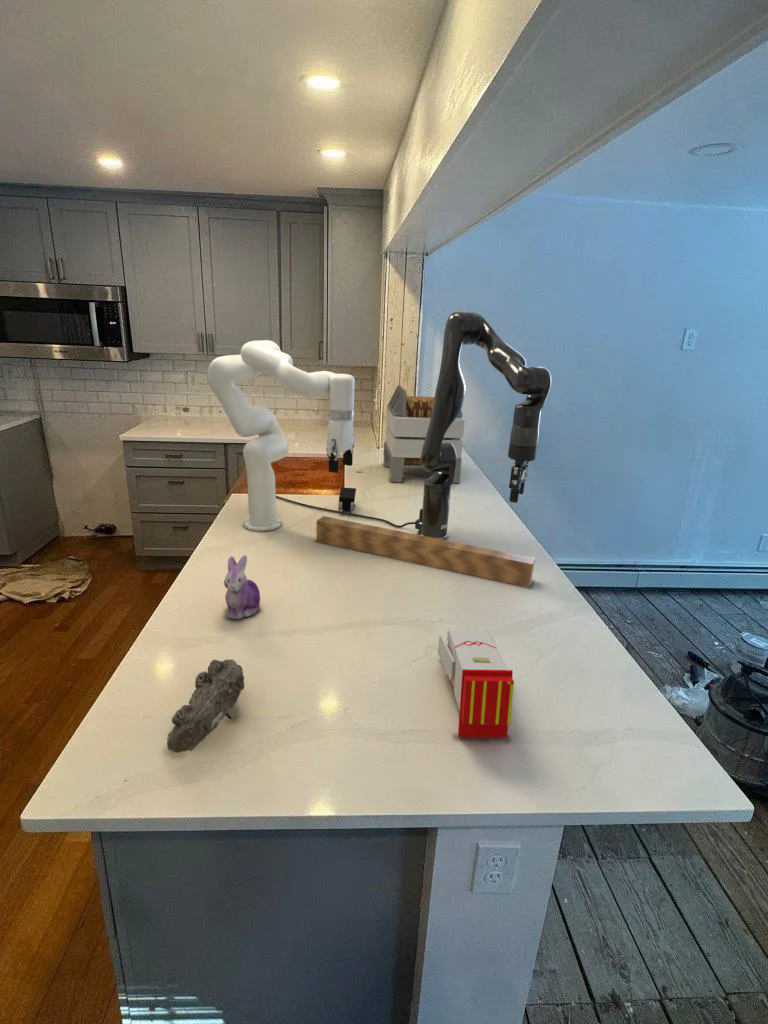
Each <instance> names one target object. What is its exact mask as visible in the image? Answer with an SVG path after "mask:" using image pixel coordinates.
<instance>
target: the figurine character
mask: <svg viewBox="0 0 768 1024" xmlns="http://www.w3.org/2000/svg"><path fill="white" fill-rule="evenodd" d="M356 492H357V488H355V487H344V486H341V487H340V491H339V496H338V507H337V508H338V509H337V510H338V511H341V512H342V513H341V515H342V516H343V515H345V514H344V513H343V512H347V513H352V512H354V511H355V508H356V507H357V505H356V503H355V499H356ZM349 516H351V515H350V514H349Z"/></svg>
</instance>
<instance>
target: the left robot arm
mask: <svg viewBox="0 0 768 1024" xmlns="http://www.w3.org/2000/svg"><path fill="white" fill-rule="evenodd" d="M293 363H294V362H293V358H292V356H291V355H289V354H288V353H285V352H284V351H282V350H281V348H280V346H279V345H278V343H276V342H275V341H273V340H269V339H264V340H262V339H261V340H251V341H247V342H246V343H244V344H243V345H242V346H241V349H240V354H229V355H228V354H227V355H221V356H218V357H216V358H214V359H213V360H212V361H211V362H210V364H209V365H208V368H207V381H208V385H209V387H210V389H211V390H212V393H213V394H214V395H215V397H216V398H217V400H218V401H219V403H220V404H221V407H222V409H223V410H224V412H225V415H226V416H227V418H228V420H229V422H230V424H231V426H232V428H233V430H234V431H235V433H236V434H237V435H238V436H239V437H242V438H249V437H253V436H256V435H258V437H254V438H252V439H251V440H248V441H247V442H246V444H245V445H244V447H243V449H242V451H243V452H242V454H243V460H244V464H245V468H246V469H245V470H246V482H247V505H248V506H247V507H248V519H246V520H245V521H244V527H245V528H246V529H247V530H249V531H254V532H255V531H256V532H269V531H273V530H276V529H278V528H279V527H280V526H281V525H282V521H281V520H280V518H278V517H277V498H276V496H277V492H276V488H277V487H276V474H275V471H274V468H273V466H272V463H274V462H277V461H281V460H282V459H284V458H286V456H287V455H288V453H289V443H288V440H287V437H286V436H285V433H284V432H283V430H282V427H281V426H280V424H279V422H278V420H277V418H276V416H275V415H274V413H273V412H272V411H271V410H270V408H268V407H266V406H263V405H256V406H252V405H251V403H250V401H249V400H248V399H247V396H246V395H245V393H244V392H243V390H241V389H240V388H239V386H237V385H236V384H235V383H234V382H239V381H247V380H251V379H254V378H256V377H258V376H260V375H261V374H265V375H267V376H269V377H271V378H273V379H275V380H277V381H278V382H279V384H280V385H281V386H282V387H283V388H284V389H286V390H287V391H289V392H291V393H294V394H296V395H298V396H299V397H302V398H306V399H316V398H321V397H326V396H327V397H328V396H329V414H328V415H329V417H328V419H329V421H328V427H327V433H326V434H327V435H326V448H325V451H326V456H327V460H328V472H329V473H334V474H338V473H339V463H340V462H339V456H340V454H342V465H343V466H348V467H349V466H350V467H352V466H353V459H354V458H353V453H354V447H355V441H356V438H355V437H354V420H355V419H354V418H355V385H356V383H355V382H356V381H355V377H354V376H353V375H351V374H349V373H335V372H332V371H330V370H329V371H328V370H321V371H313V372H307V371H304V370H302V369H300V368H298V367H296V366H294V364H293Z"/></svg>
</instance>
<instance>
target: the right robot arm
mask: <svg viewBox="0 0 768 1024" xmlns="http://www.w3.org/2000/svg"><path fill="white" fill-rule="evenodd" d="M442 342H443V343H442V354H441V360H440V361H441V362H440V367H439V374H438V379H437V384H436V386H435V387H436V388H435V393H434V396H433V397H434V404H433V409H432V414H431V419H430V423H429V427H428V431H427V434H426V437H425V441H424V444H423V448H422V452H421V464H422V466H421V467H422V468H423V470H424V471H426V472H428V473H433V474H431V476H429V477H427V478H426V479H425V480H424V482H423V493H422V496H423V497H422V506H421V508H420V509H419V516H418V519H416V520H415V521H409V522H405V523H403V524H401V525H397V524H394V523H393V522H391V521H389V520H387V519H383V518H380V517H379V518H378V517H373V516H368V515H364V514H357V513H352V512H351V513H349V512H343V513H344V515H349V514H350V515H349V516H354V517H359V518H365V519H369V520H375V521H379V522H384V523H387V524H389V525H390V526H392V527H395V528H400V529H401V528H404V527H405V526H406V527H407V526H408V525H409V526H410V525H414V529H415V530H417V535H422V536H427V537H432V538H437V539H442V540H446V539H447V538H448V525H449V517H450V516H449V514H450V504H451V494H452V493H451V491H452V486H453V484H454V483H453V481H454V475H455V468H456V459H457V457H456V450H455V448H454V446H453V445H452V444H450V443H442V441H443V438H444V435H445V433H446V431H447V430H448V428H449V427H450V425H451V424H452V423H453V422H454V420H455V419H456V417H457V416H458V414H459V413H460V411H461V412H462V409H463V404H464V402H465V401H464V400H465V397H466V390H467V389H466V388H467V387H466V382H465V378H464V375H463V372H462V370H461V366H460V357H461V356H460V355H461V351H462V346H463V345H464V346H470V345H471V346H472V345H475V346H477V347H479V348H481V349H483V350H484V351H485V352H486V357H487V360H488V362H489V364H490V365H491V366H492V367H493V368H494V369H495V370H496V371H498V372H499V373H500V374H501V375H503V376H504V378H505V380H506V382H507V383H508V385H509V387H510V388H511V389H512V391H514V392H515V393H517V394H519V395H526V397H525V399H524V400H523V401H521V402H519V403H517V404H516V405H515V406H514V410H513V419H512V427H511V429H510V435H509V443H508V450H507V451H508V452H507V457H508V458H509V459H510V460H513V461H514V464H512V466H511V469H510V476H509V477H510V478H509V485H508V489H510V491H509V502H510V503H514V504H515V503H518V501H519V496H520V495H523V494H524V491H525V486H526V485H525V483H526V481H527V478H528V476H529V475H528V474H529V469H530V467H529V466H530V462H534V461H535V460H536V459H537V450H538V443H539V437H540V421H541V413H542V410H543V408H544V406H545V403H546V401H547V398H548V396H549V394H550V390H551V388H552V387H551V386H552V375H551V372H550V371H549V370H548V368H546V367H543V366H527V361H526V359H525V357H524V356H523V355H522V354H521V353H520V352H519V351H517V350H515V349H514V348H513V347H512V346H510V345H509V344H508V343H506V342H505V341H504V339H502V337H500V335H499V334H498V333H497V332H496V331H495V329H494V328H493V327H492V326H491V325H490V324H489V322H488V321H487V320H486V318H484V317H483V316H482V315H481V314H479V313H477V312H470V311H469V312H468V311H466V312H465V311H453V312H452V313H451V314H449V315H448V318H447V320H446V323H445V327H444V335H443V341H442ZM514 483H516V484H514ZM276 499H280V500H283V501H286V502H289V503H293V504H295V505H300V506H303V507H307V508H312V509H316V510H321V511H326V512H331V513H337V514H342V511H339V510H336V509H329V508H324V507H321V506H320V507H319V506H314V505H311V504H306V503H301V502H298V501H295V500H292V499H288V498H285V497H282V496H278V495H276Z"/></svg>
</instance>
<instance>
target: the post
mask: <svg viewBox="0 0 768 1024" xmlns="http://www.w3.org/2000/svg"><path fill="white" fill-rule="evenodd" d="M315 541H316V542H318V543H322V544H327V545H332V546H336V547H340V548H345V549H351V550H355V551H360V552H364V553H369V554H374V555H377V556H378V555H379V556H383V557H387V558H391V559H396V560H400V561H405V562H406V561H407V562H409V563H415V564H419V565H424V566H429V567H433V568H437V569H442V570H446V571H450V572H456V573H461V574H465V575H469V576H474V577H479V578H484V579H488V580H492V581H496V582H501V583H506V584H511V585H516V586H520V587H525V588H530V587H531V584H532V582H533V576H534V570H535V563H536V558H535V557H532V556H527V555H521V554H517V553H511V552H507V551H502V550H496V549H491V548H488V547H487V548H486V547H481V546H476V545H471V544H466V543H461V542H457V541H451V540H448V539H447V540H446V539H444V540H442V539H437V538H432V537H427V536H422V535H418V533H417V534H416V533H411V532H406V531H401V530H396V529H391V528H387V527H382V526H376V525H371V524H366V523H360V522H356V521H351V520H346V519H341V518H335V517H331V516H325V515H323V516H321V517H320V518H318V519H317V520H316V540H315Z"/></svg>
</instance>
